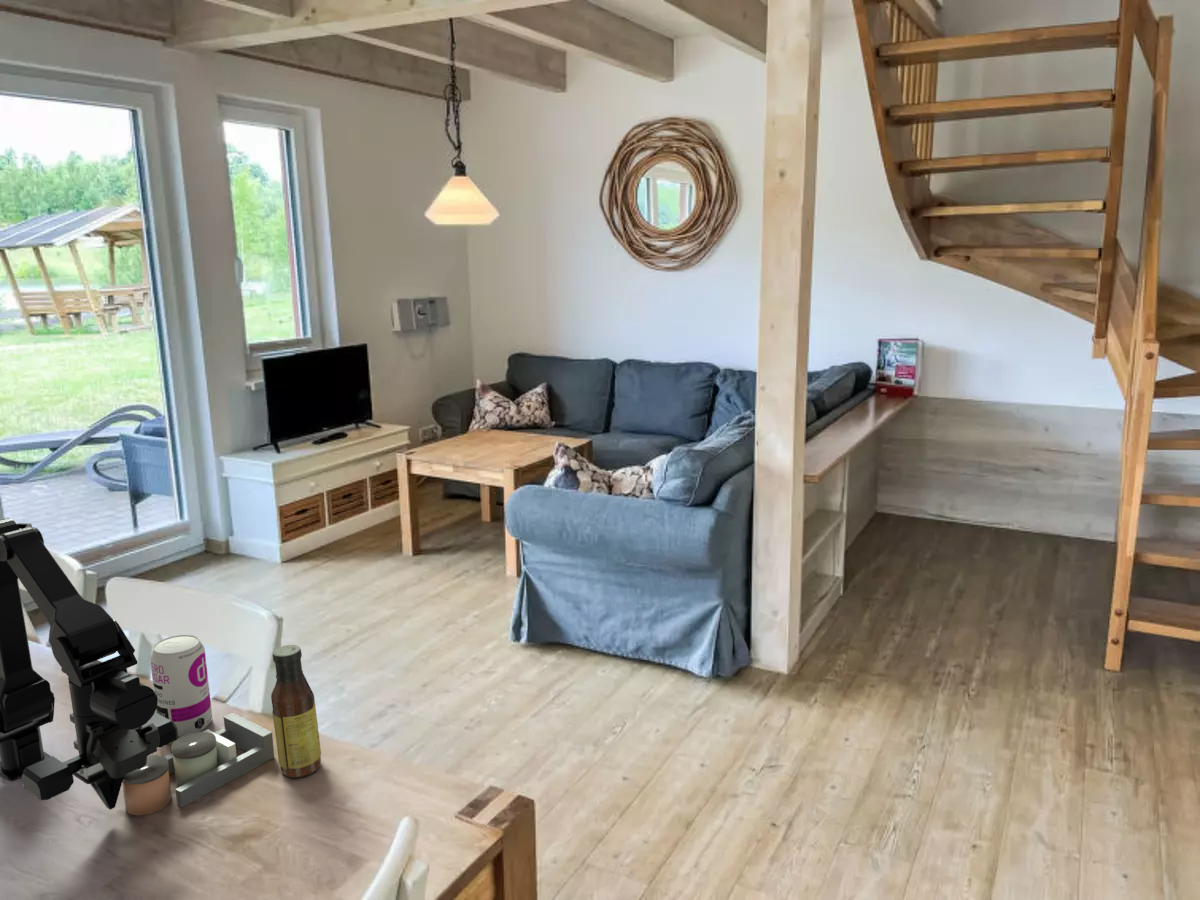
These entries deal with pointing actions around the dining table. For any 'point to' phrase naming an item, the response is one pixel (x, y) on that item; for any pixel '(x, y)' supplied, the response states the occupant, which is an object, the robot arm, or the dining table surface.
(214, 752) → the jar sage
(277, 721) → the sauce bottle
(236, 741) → the lane
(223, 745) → the bar
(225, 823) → the dining table surface
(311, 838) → the dining table surface
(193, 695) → the supplement can
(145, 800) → the jar terracotta
